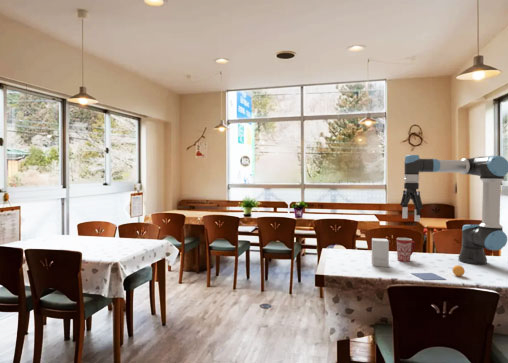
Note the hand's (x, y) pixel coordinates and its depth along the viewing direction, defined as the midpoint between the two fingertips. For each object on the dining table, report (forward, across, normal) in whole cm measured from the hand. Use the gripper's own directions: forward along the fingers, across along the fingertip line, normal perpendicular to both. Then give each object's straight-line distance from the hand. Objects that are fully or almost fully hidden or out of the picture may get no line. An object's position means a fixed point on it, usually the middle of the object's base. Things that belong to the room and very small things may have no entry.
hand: (410, 219), depth 204 cm
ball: (+25, +16, +18) cm, 35 cm away
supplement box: (+28, -9, -14) cm, 32 cm away
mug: (+28, -20, +8) cm, 35 cm away
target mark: (+28, +16, +1) cm, 32 cm away
